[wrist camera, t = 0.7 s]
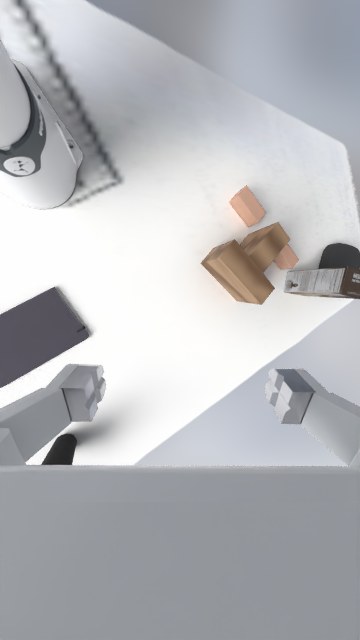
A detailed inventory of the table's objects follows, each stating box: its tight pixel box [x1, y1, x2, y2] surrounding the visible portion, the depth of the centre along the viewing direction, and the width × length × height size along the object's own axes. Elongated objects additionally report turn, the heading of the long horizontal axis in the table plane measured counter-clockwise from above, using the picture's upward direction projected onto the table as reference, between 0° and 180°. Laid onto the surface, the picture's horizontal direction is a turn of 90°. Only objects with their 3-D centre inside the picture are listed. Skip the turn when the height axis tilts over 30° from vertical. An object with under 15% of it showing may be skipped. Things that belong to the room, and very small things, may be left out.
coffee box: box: [284, 267, 360, 299], centre depth 49 cm, size 9×6×16 cm
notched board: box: [229, 185, 299, 269], centre depth 48 cm, size 3×24×4 cm, turn 48°
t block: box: [201, 222, 290, 305], centre depth 45 cm, size 15×15×10 cm
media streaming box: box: [319, 243, 360, 269], centre depth 58 cm, size 15×15×3 cm
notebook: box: [0, 287, 88, 388], centre depth 39 cm, size 13×2×21 cm
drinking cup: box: [41, 434, 76, 465], centre depth 36 cm, size 8×8×20 cm
